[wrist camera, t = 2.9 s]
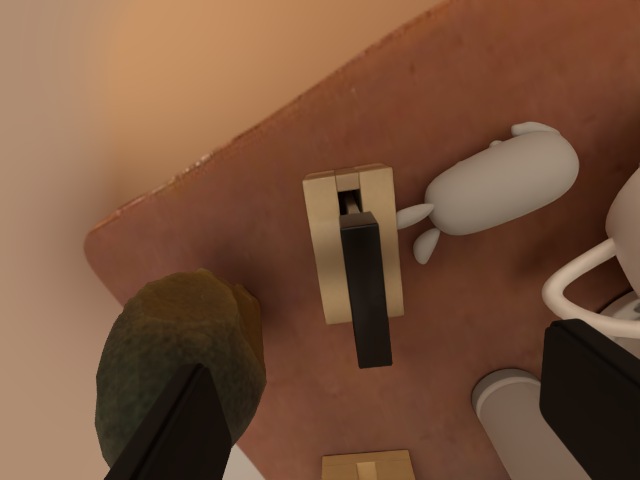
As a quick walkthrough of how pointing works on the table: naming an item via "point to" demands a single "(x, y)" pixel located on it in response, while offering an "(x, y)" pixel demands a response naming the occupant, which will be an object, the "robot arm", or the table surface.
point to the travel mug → (522, 428)
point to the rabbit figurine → (495, 185)
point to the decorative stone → (179, 353)
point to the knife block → (326, 239)
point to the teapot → (624, 241)
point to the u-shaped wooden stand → (368, 466)
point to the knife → (365, 285)
